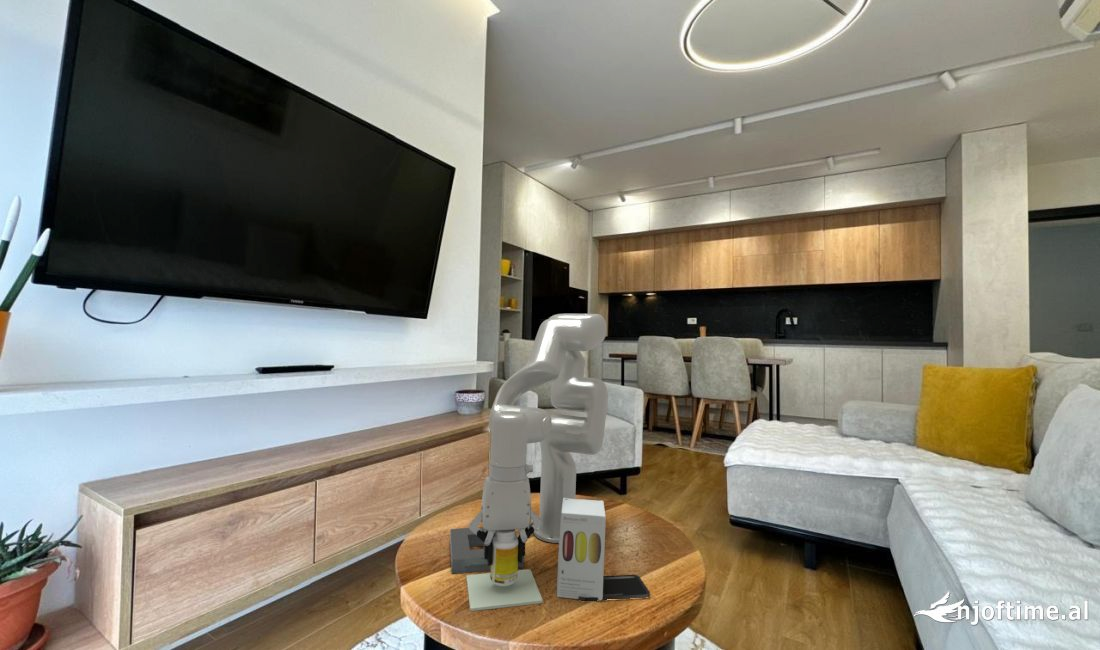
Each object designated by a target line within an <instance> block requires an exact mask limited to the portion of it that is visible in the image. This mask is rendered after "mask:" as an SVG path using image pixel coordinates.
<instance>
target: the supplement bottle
mask: <svg viewBox="0 0 1100 650" xmlns="http://www.w3.org/2000/svg"><path fill="white" fill-rule="evenodd" d="M515 531H516V529H515V530H502V531H496V537H494V538H493V540H492V545H493V553H492V565H491V570H490V572H489V573H490V579H491V581H492V582H493V583H494V584H495V585H498V586H509V585H511V584H513V583H514V582H515V581H516V580H517V572H518V570H519V568H518V545H519V543H518V539H517V537H515Z"/></svg>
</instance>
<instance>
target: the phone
mask: <svg viewBox="0 0 1100 650" xmlns="http://www.w3.org/2000/svg"><path fill="white" fill-rule="evenodd" d="M650 595H651V592H650V591H649V589H648V587H647V586H646V584H645V583H644V581H643V579H642V578H641V576H639V575H637V574H617V575H603V599H602V600H607V599H630V598H646V597H649V596H650ZM649 598H650V597H649ZM578 599H579V600H581V601H596V602H598V601H597V600H598V598H597V597H588V598H587V597H581V596H579V598H578ZM578 599H577V600H578ZM579 600H578V601H579ZM581 601H580V602H581Z"/></svg>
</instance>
